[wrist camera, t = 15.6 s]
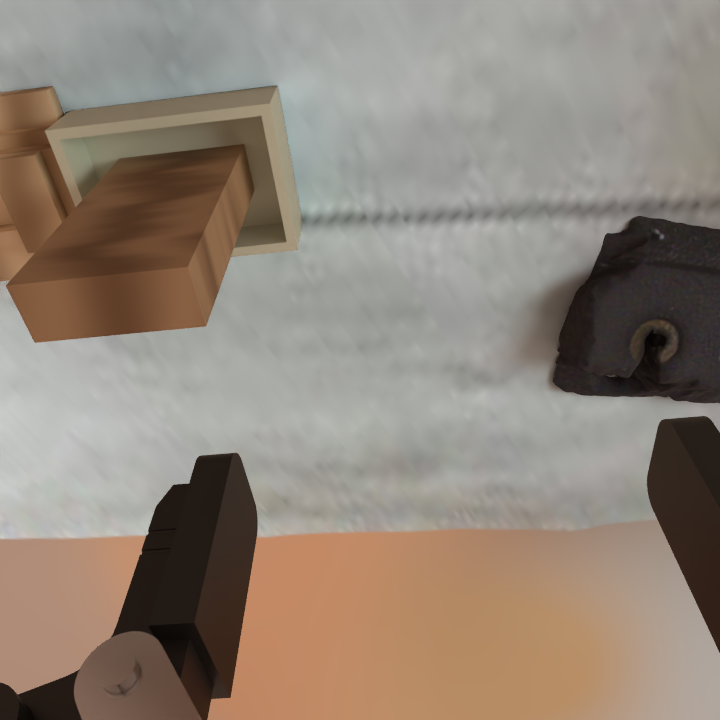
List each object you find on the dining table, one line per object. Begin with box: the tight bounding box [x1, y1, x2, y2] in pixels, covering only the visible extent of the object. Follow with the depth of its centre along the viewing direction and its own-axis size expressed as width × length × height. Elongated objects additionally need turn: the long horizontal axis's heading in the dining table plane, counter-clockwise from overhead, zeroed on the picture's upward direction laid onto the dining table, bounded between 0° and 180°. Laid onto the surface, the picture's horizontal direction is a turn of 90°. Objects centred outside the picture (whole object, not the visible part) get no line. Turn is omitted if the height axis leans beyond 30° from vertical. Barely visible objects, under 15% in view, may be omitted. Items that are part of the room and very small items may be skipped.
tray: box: [45, 86, 302, 257], centre depth 40 cm, size 13×9×4 cm
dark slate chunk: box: [553, 216, 720, 403], centre depth 47 cm, size 15×22×5 cm
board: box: [6, 144, 254, 343], centre depth 34 cm, size 8×3×16 cm, turn 97°
